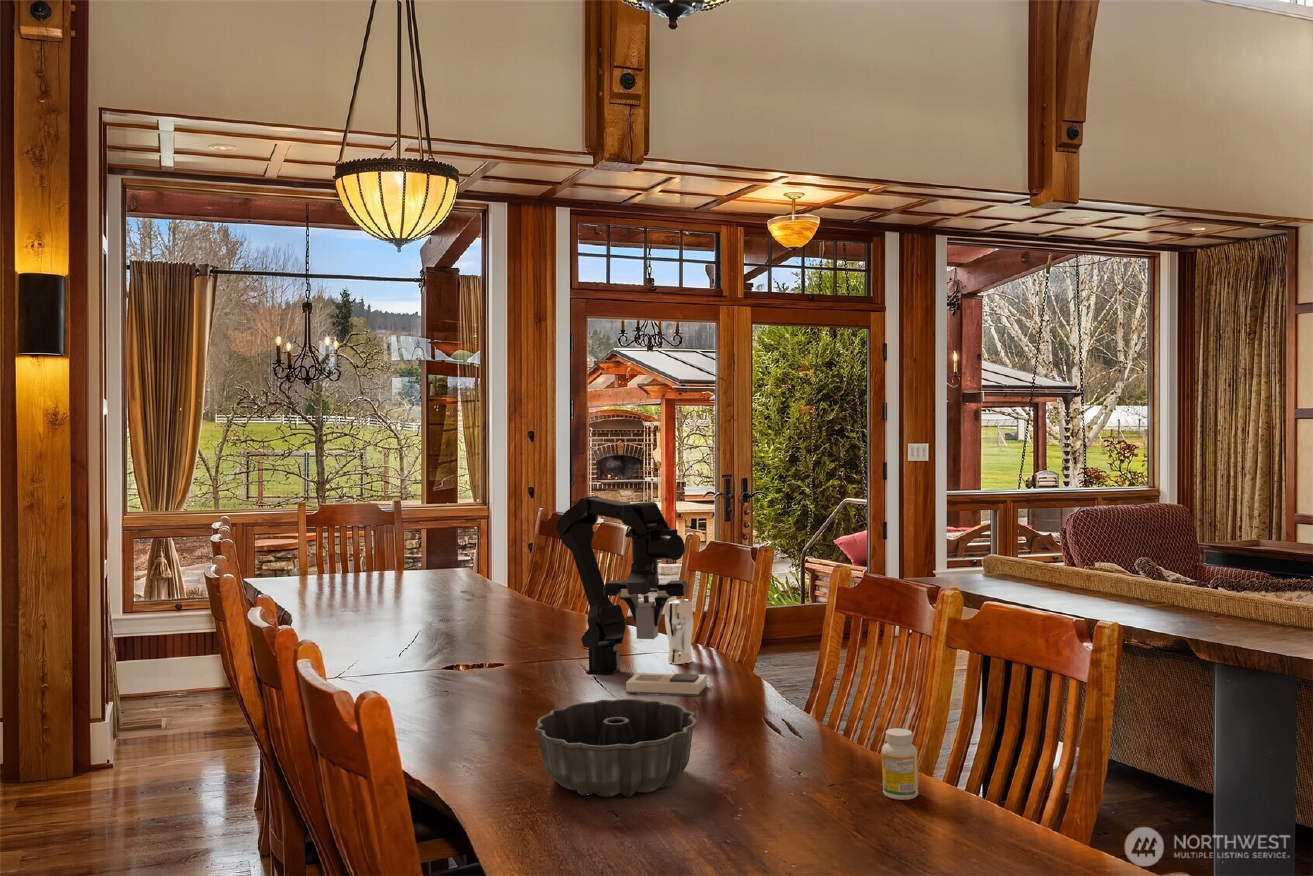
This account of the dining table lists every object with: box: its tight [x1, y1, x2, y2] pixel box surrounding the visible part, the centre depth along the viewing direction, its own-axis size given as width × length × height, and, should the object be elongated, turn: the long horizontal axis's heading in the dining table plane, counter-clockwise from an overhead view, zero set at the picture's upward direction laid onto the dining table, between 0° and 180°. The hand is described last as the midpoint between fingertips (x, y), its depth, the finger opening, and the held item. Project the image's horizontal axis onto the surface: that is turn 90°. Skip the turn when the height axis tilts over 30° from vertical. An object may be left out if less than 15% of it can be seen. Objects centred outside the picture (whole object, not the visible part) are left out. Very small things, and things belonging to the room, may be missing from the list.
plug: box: [635, 594, 659, 640], centre depth 234 cm, size 4×4×10 cm
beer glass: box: [664, 598, 694, 665], centre depth 253 cm, size 7×7×15 cm
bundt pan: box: [534, 698, 697, 798], centre depth 168 cm, size 26×26×10 cm
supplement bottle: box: [881, 727, 919, 801], centre depth 158 cm, size 5×5×10 cm
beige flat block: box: [625, 672, 708, 697], centre depth 226 cm, size 16×9×3 cm, turn 75°
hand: (647, 626), depth 234 cm, fingers closed on plug, 4 cm apart
